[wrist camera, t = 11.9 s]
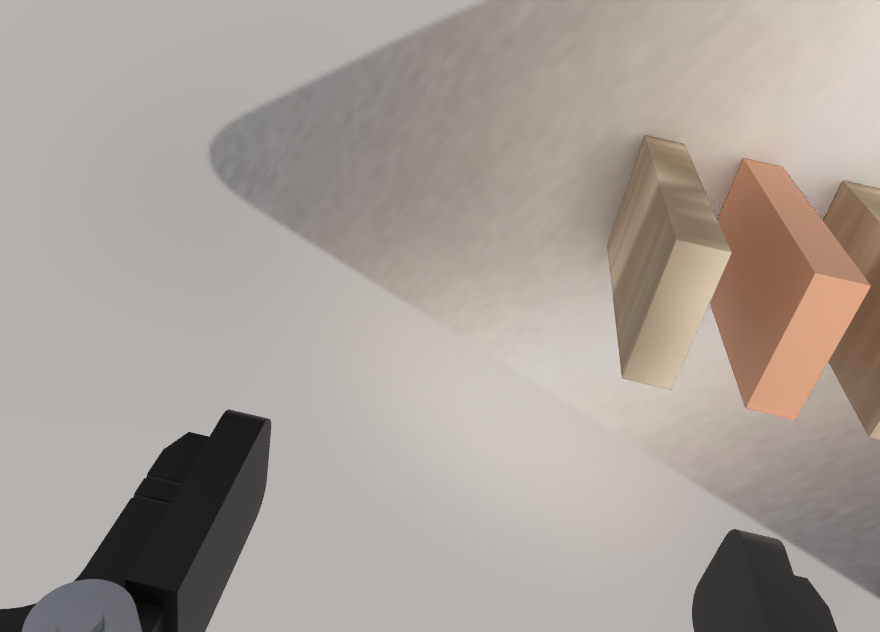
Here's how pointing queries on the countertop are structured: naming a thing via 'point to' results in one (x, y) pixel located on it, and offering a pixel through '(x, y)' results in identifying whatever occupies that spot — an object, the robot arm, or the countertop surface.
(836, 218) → the domino
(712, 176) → the countertop surface
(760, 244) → the domino
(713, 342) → the countertop surface
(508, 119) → the countertop surface
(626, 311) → the domino
